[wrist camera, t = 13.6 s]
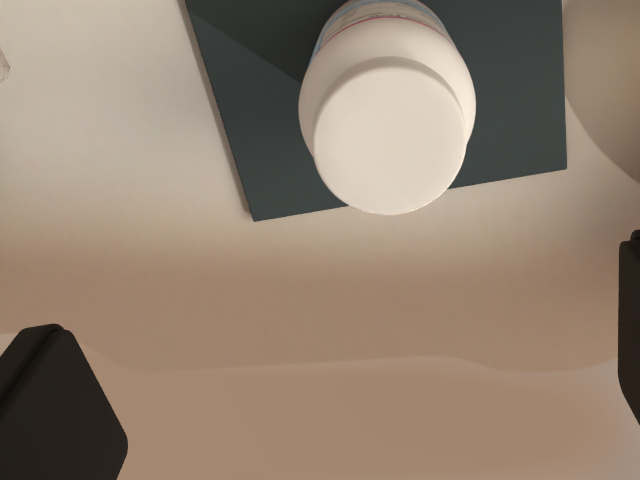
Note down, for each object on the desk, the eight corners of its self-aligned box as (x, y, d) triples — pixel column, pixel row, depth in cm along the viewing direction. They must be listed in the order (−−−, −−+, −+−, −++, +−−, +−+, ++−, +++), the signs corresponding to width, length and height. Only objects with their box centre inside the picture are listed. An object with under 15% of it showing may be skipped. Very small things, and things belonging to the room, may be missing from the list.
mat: (255, 218, 33) (253, 222, 32) (167, -66, 26) (164, -65, 26) (564, 165, 30) (567, 169, 30) (552, -166, 24) (556, -167, 23)
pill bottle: (404, 145, 30) (421, 267, 20) (293, 84, 29) (252, 183, 19) (477, 31, 27) (538, 109, 17) (356, -41, 26) (347, -1, 16)
